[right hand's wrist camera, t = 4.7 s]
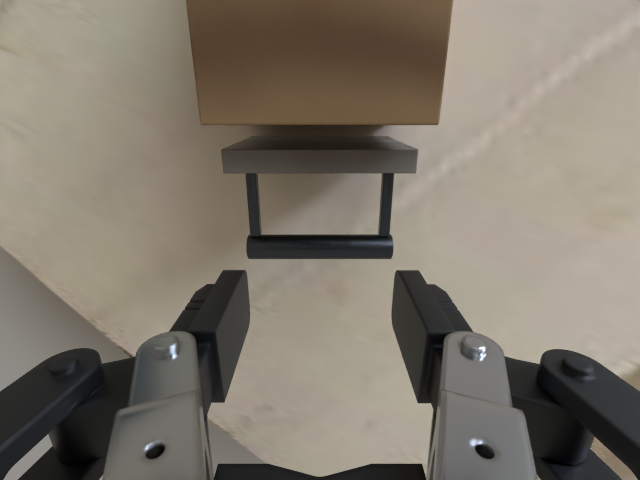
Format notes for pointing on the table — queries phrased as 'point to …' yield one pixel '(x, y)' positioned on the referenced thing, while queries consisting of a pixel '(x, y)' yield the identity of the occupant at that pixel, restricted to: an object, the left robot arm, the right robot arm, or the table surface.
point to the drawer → (319, 158)
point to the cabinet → (319, 61)
